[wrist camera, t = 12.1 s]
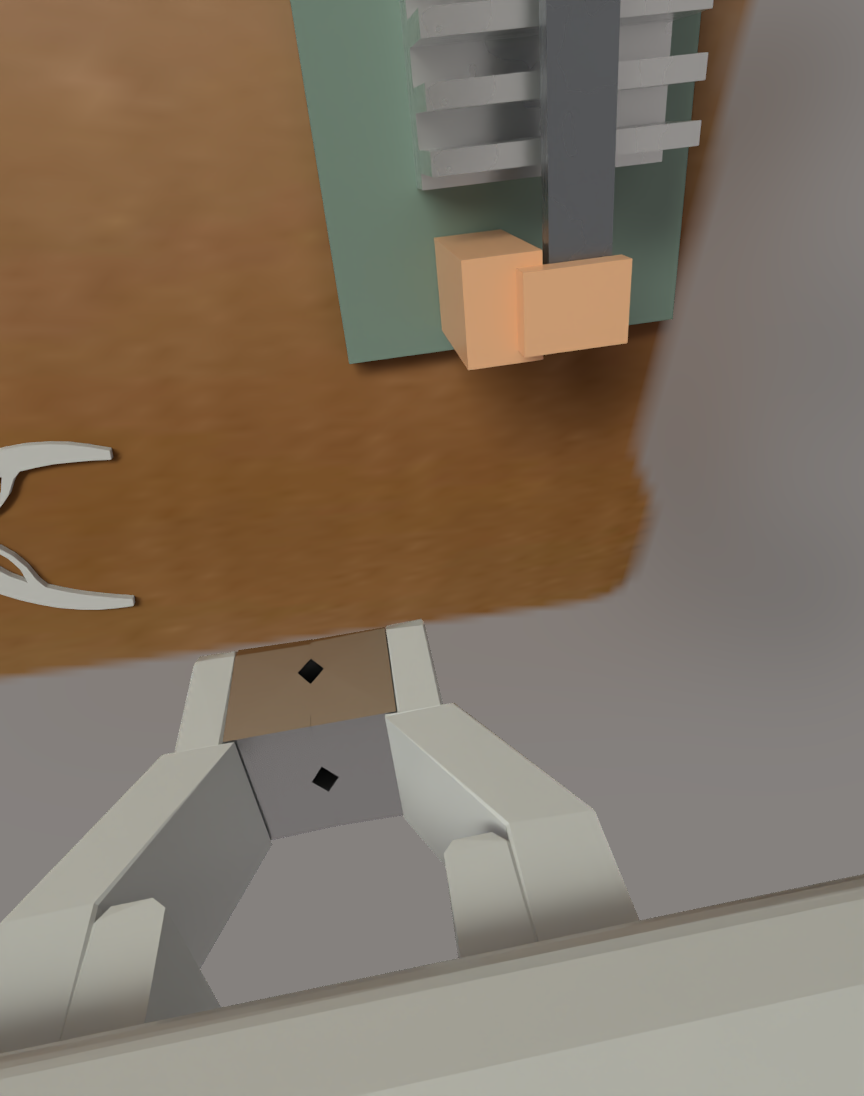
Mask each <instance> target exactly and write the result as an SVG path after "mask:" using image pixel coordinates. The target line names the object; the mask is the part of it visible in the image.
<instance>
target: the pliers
mask: <svg viewBox="0 0 864 1096" xmlns="http://www.w3.org/2000/svg"><path fill="white" fill-rule="evenodd" d="M112 458H113V453H112V448H110V447H104V446H98V445H92V444H85V443H76V442H55V441H46V442H33V443H23V444H17V445H12V446H7V447H2V448H0V477H2V480H1V493H0V507H1V506H2V505H3V503H4V502H5V500H6V499H7V497H8V496H9V495H10V493H11V491H12V488H13V485H14V482H15V478H16V476H17V475H18V473H19V472H20V471H24V470H28V469H33V468H37V467H42V466H47V465H52V464H61V463H70V462H81V461H93V460H111V459H112ZM0 554H1V555H2V556H4V557H6V558H8V559H9V560H10V561H11V562H13V563H14V564H15V565H16V566H17V567H18V568H19V569H20V570H21V571H22V573H23V575H24V577H23V576H20V575H17V574H14V573H12V572H10V571H8V570H6V569H4V568H3V567H1V566H0V594H2V595H5V596H8V597H12V598H15V599H18V600H22V601H26V602H31V603H35V604H40V605H45V606H51V607H57V608H67V609H81V610H101V609H113V608H122V607H129V606H134V604H135V598H134V595H121V594H109V593H100V592H91V591H83V590H77V589H71V588H66V587H61V586H56V585H52V584H48V583H47V582H45V581H44V580H43V579H42V578H40V577H39V576H38V574H37V573H36V572H35V571H34V569H33V568H32V567H31V566H30V565H29V563H27V562H26V561H25V560H24V559H23V558H21V557H20V556H19V555H18V554H17V553H15V552H14V551H12V550H10V549H8V548H6V547H5V546H3V545H1V544H0Z"/></svg>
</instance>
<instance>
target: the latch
mask: <svg viewBox="0 0 864 1096" xmlns="http://www.w3.org/2000/svg"><path fill="white" fill-rule="evenodd" d="M434 244H435V256H436V268H437V279H438V291H439V303H440V314H441V326H442V331H443V333H444V334H445V336H446V337H447V339H448V340H449V342H450V343H451V345H452V346H453V348H454V349H455V351H456V352H457V354H458V355H459V357H460V358H461V360H462V361H463V363H464V364H465V366H466V367H467V369H468V370H474V369H481V368H488V367H495V366H502V365H509V364H516V363H523V362H530V361H537V360H543V355H547V354H554V353H561V352H568V351H575V350H582V349H589V348H596V347H603V346H610V345H618V344H625V343H627V342H628V325H629V309H630V292H631V275H632V258H630V257H627V256H625V255H622V254H621V255H613V256H605V257H598V258H590V259H583V260H575V261H567V262H560V263H552V264H544V265H543V261H542V250H541V249H539V248H537V247H535V246H533V245H531V244H529V243H527V242H525V241H523V240H521V239H519V238H517V237H515V236H513V235H511V234H509V233H507V232H505V231H503V230H501V229H499V230H491V231H483V232H475V233H467V234H459V235H452V236H444V237H436V238H434Z"/></svg>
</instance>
